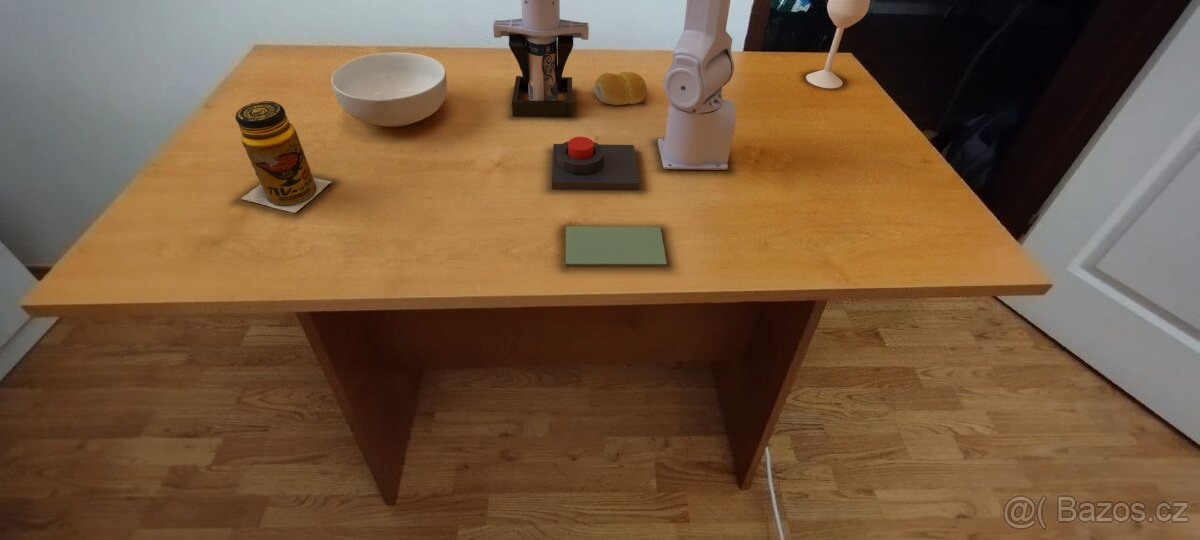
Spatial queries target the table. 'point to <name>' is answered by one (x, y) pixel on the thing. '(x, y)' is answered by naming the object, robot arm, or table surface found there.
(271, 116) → the condiment
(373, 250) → the table surface
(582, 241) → the mat
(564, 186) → the control block
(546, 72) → the beer can
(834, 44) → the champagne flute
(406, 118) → the cereal bowl
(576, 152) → the button
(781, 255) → the table surface
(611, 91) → the bread roll
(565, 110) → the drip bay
